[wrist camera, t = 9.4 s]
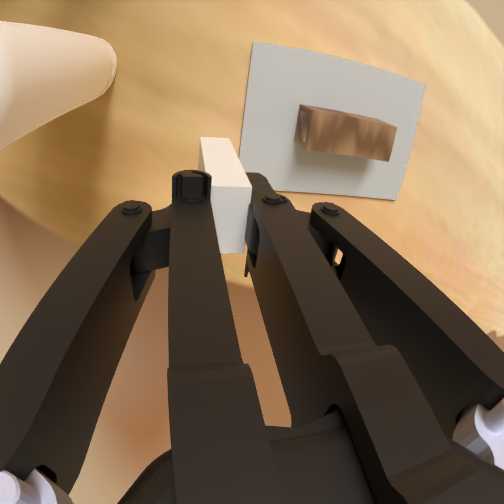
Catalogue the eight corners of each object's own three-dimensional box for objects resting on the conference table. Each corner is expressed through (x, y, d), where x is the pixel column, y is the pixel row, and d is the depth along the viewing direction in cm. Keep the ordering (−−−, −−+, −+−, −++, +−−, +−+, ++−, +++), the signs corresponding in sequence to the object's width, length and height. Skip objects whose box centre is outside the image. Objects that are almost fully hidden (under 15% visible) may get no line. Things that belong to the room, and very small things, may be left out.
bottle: (127, 84, 30) (-20, 156, 7) (66, 114, 30) (-105, 242, 7) (104, 23, 25) (-68, -23, 2) (43, 57, 25) (-154, 105, 3)
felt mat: (252, 41, 30) (253, 41, 30) (423, 84, 35) (425, 84, 35) (235, 187, 40) (235, 188, 39) (395, 199, 45) (396, 200, 44)
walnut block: (313, 110, 31) (397, 127, 33) (299, 104, 35) (378, 119, 37) (306, 150, 33) (388, 162, 36) (293, 140, 37) (371, 150, 39)
